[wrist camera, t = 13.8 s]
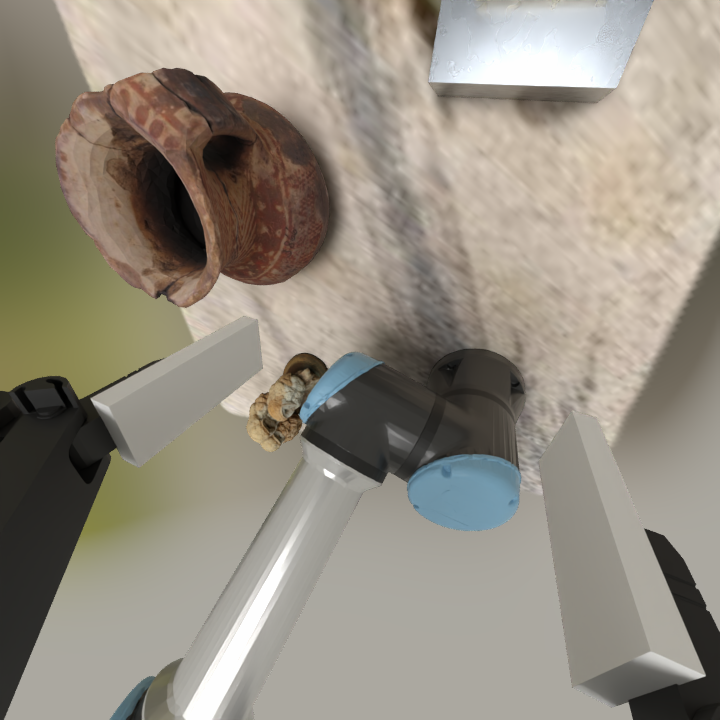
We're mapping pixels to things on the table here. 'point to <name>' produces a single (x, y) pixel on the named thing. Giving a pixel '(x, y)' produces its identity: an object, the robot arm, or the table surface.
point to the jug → (190, 185)
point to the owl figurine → (284, 403)
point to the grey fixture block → (534, 48)
